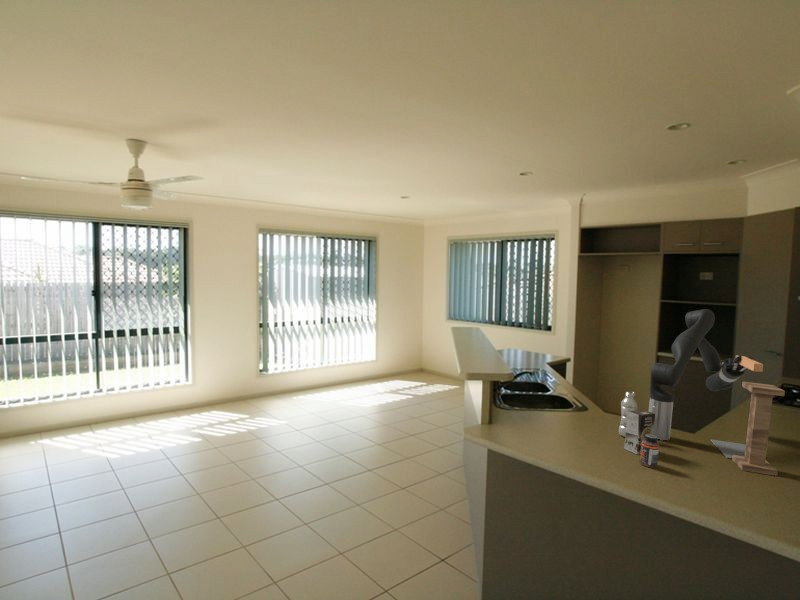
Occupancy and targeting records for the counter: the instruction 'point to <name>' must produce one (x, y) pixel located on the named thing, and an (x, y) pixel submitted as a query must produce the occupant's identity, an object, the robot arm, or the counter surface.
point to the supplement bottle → (649, 451)
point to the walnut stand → (758, 429)
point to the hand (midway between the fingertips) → (745, 358)
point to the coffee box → (638, 429)
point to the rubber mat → (730, 448)
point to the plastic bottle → (626, 410)
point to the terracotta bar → (751, 364)
